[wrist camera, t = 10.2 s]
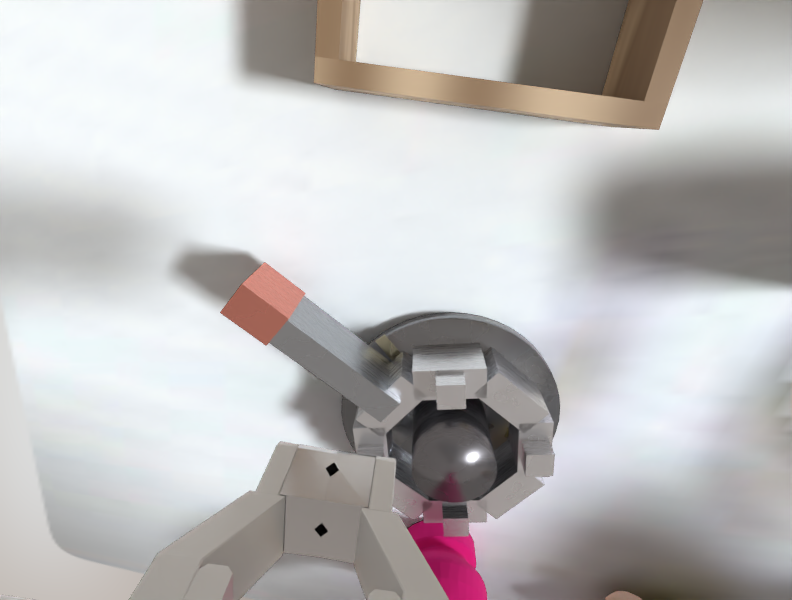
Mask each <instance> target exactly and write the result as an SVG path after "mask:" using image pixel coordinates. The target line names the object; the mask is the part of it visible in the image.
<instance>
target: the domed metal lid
mask: <svg viewBox="0 0 792 600" xmlns="http://www.w3.org/2000/svg"><path fill="white" fill-rule="evenodd" d="M464 343H480V344H481V348H482V352H483V353H484V352H485V351H486V350H487V349H488V348H489V347H490V346H491V347H492V348H494V349H495V350H496V351H497V352H498V353H500V354H501V355H502V356H503V357H504V358H506V359H507V360H508V361H509V362H510V363H512V364H513V365H514V366H515V367H516V368H518V369H519V370H520V371H521V372H523V373H524V374H525V375H526V376H527V377H529V378H530V379H531V380H532V381H533V382H535V383H536V384H537V386H538V388H539V390H540V393H541V394H542V397H543V399H544V401H545V404H546V406H547V408H548V410H549V413H550V415H551V417H552V420H553V422H554V426H553V437H554V435H555V432H556V429H557V425H558V422H559V414H560V401H559V394H558V389H557V385H556V383H555V380H554V378H553V375H552V373H551V371H550V369H549V367H548V365H547V364H546V362H545V360H544V359H543V357H542V356H541V354H540V353H539V352H538V350H537V349H536V348H535V347H534V346H533V345H532V344H531V343H530V342H529V341H528V340H527V339H526V338H524V337H523V336H522V335H521V334H519V333H518V332H516V331H515V330H513V329H511V328H510V327H508V326H506V325H504V324H501V323H499V322H497V321H494V320H491V319H488V318H485V317H482V316H477V315H472V314H465V313H436V314H430V315H424V316H420V317H417V318H413V319H410V320H407V321H405V322H402V323H400V324H398V325H395V326H393V327H392V328H390V329H388V330H387V331H385V332H383V333H382V334H381V335H379V336H378V337H377V338H375V339H374V340H373V341H372V342H371V343H370V344H369V346H370V347H372V348H373V349H374V350H376V351H377V352H378V353H380V354H381V355H382V356H384V357H385V358H386V359H388V360H389V361H390V362H392V361H393V360H394V359H395V358H396V357H397V356H398V355H399V354H400V353H401V352H402V351H403V350H404V351H405V352H406V353H408V354H409V355H410V356H411V357H413V346H419V345H441V344H464ZM356 411H357V405H355V404H354V403H353V402H351V401H350V400H348V399H347V398H346V397H344V396H343V399H342V419H343V425H344V429H345V432H346V435H347V437H348V440H349V442H350V444H351V446H352V447H353V449H354V450H355V452H356V448H355V441H354V434H353V425H354V420H355V416H356ZM392 437H393V442H394V443H395V444H396V445H398V446H399V447H401V448H402V449H403V450H405V451H406V452H408V453H409V454H410V455H412V476H413V480H414V482H415V484H416V485H417V487H418V488H419V489H420V490H421V491H422V492H423V493H425V494H426V495H428V496H430V497H431V498H434V499H436V500H439V501H444V502H451V503H458V502H465V501H469V500H473V499H475V498H477V497H479V496H481V495H483V494H484V493H485V492H487V491H488V490H489V489H490V487H491V486H492V485H493V483H494V481H495V479H496V476H497V464H496V459H495V455H494V450H495V449H497V448H498V447H499V446H500V445H502V444H503V443H504V442H505V441H507V440H508V437H509V421H507V420H506V419H505V418H503V417H502V416H501V415H500V414H498V413H497V412H496V411H494V410H493V409H492V408H491V407H489V406H488V405H487V404H486V403H484V402H483V401H482V400H480V399H479V398H475V399H466V409H448V410H437V400H422V401H421V402H420V403H419V404H418V405H416V406H415V407H414V408H413V409H412V410H411V411H410V412H409V413H408V414H407V415H406V416H404V417H403V418H402V419H401V420H400V421H399V422H398V423H397V424H396V425H395V426H394V427H392Z"/></svg>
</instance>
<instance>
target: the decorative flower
mask: <svg viewBox="0 0 792 600" xmlns="http://www.w3.org/2000/svg"><path fill="white" fill-rule="evenodd" d="M605 600H642V599H641V598H640V597H638V596H636V595H634V594H631V593H629V592H627V591H615V592H613V593H611V594H609V595H608V596H607V597H606V598H605Z"/></svg>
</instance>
